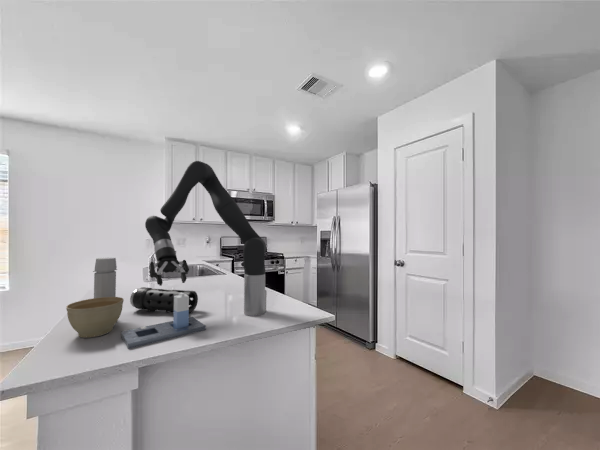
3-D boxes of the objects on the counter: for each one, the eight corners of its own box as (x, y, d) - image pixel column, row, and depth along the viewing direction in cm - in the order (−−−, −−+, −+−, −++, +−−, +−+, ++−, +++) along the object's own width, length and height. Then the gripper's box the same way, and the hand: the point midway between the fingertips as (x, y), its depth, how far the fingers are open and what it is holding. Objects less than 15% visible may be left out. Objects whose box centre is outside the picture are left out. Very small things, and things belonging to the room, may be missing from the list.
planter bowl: (116, 322, 106) (117, 294, 107) (128, 333, 95) (128, 302, 95) (62, 333, 95) (63, 302, 95) (68, 347, 84) (69, 311, 84)
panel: (192, 321, 107) (192, 316, 107) (205, 331, 97) (205, 325, 97) (120, 337, 91) (120, 331, 91) (127, 350, 81) (128, 343, 81)
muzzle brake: (185, 317, 112) (185, 293, 112) (128, 313, 118) (128, 289, 118) (198, 311, 122) (198, 288, 122) (144, 307, 127) (145, 285, 127)
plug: (184, 326, 101) (185, 291, 101) (188, 329, 98) (188, 293, 98) (173, 328, 98) (173, 293, 98) (176, 331, 95) (177, 295, 95)
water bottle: (118, 321, 107) (119, 258, 108) (94, 326, 101) (95, 259, 102) (112, 316, 113) (113, 256, 114) (89, 320, 108) (90, 258, 108)
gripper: (148, 246, 108) (154, 279, 99) (184, 245, 118) (193, 275, 109) (144, 258, 112) (151, 291, 103) (180, 256, 121) (189, 286, 113)
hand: (173, 283), depth 106 cm, fingers open, 8 cm apart
